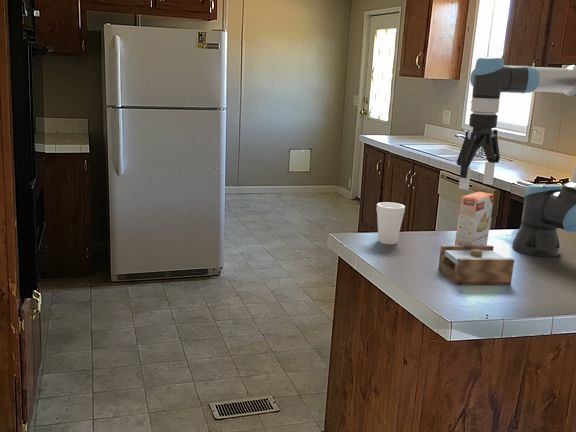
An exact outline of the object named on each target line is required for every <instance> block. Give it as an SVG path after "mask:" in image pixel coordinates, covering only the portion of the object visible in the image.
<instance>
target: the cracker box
mask: <svg viewBox="0 0 576 432" xmlns="http://www.w3.org/2000/svg"><path fill="white" fill-rule="evenodd" d="M494 199H495V194H494V193H488V192H483V191H475V192H471V193H469V194H465V195H463V196H461V197H460V203H459V210H458V218H457V225H456V226H457V227H456V232H455V233H456V234H455V240H454V245H485V246H488V238H489V233H490V226H491V218H492V211H493V206H494Z"/></svg>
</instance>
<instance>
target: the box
mask: <svg viewBox="0 0 576 432" xmlns="http://www.w3.org/2000/svg"><path fill="white" fill-rule="evenodd" d="M471 249H479V250H493V251H494V246H493V245H487V246H485V245H455V244H453V245H452V244H440V252H439V261H438V267H437V269H438V270H439V271H440V272H441V271H442V272H443V273H442V272H441V273H442V274H444V275H445V276H446V277H447V278H448V279H450V280H451V281H452V282H453V283H454V284H455V285H457V286H511V285H512V278H513V271H514V266H515V265H514V264H515V259H514V258H511V257H504V258H458V263H457V265H456V264H455V263H454V262H452V261H451V260H450V259H449V258H447V257H446V256H445V255H444V251H445V250H471Z"/></svg>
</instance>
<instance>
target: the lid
mask: <svg viewBox="0 0 576 432" xmlns="http://www.w3.org/2000/svg"><path fill="white" fill-rule="evenodd" d="M444 255H445V256H446V257H447V258H449V259H450V260H451V261H452V262H454V263H455V264H456V265H457V263H458V258H505V257H504V256H502V255H501V254H499V253H497V252H496V251H495V250H494V249H493V250H479V249H471V250H445V251H444Z"/></svg>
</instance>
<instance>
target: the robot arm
mask: <svg viewBox="0 0 576 432" xmlns="http://www.w3.org/2000/svg"><path fill="white" fill-rule="evenodd" d="M469 81H470V85H471V86H472V94H471V95H472V96H471V97H472V98H471V102H470V103H471V105H470V111H471V112H472V113H471V114H469V123H468V124H469V125H468V126H469V127H470V128H472V131H471V130H466V132H465V135H464V140H463V143H462V145H461V148H460V152H459V153H458V156H457V159H456V165H457V166H458V167H459V166H460V172H459V173H460V174H459V183H458V184H459V185H458V189H459V190H467V191H469V190H470V180H471V172H472V171H471V170H472V166H470V165H471V163H472V161H473V159H474V157H475V156H476V153H477V152H478V150H479V149H481V148H482V150H483V153H484V155H485V158H486V161H484V163H485V164H484V171H483V172H484V173H483V179H482V180H483V181H482V184H485V185H490V186H492V185H493V184H494V176H495V169H496V168H495V167H496V164H499V163H500V159H501V157H500V147H499V141H498V132H499V131H498V129H495V128H497V126H498V125H497V124H498V115H497V113H499V109H500V98H501V93H510V94H513V93H514V94H529V93H535V92H537V93H539V92H540V93H541V92H542V93H563V94H564V95H565V96H568V97H569V96H570V97H576V65H575V64H572V65H571V64H570V65H569V66H568V65H567V67H543V66H542V67H541V66H539V67H537V66H536V67H535V66H528V65H505V60H504V58H502V57H485V56H484V57H478V58H477V60H476V62H475V67H474V69H473V70H472V71H471V74H470V79H469ZM523 200H524V201H523V208H522V216H521V221H520V222H521V223H520V227H519V229H518V231H517V233H516V234H515V237H514V239H513V240H512V245H511V246H512V249H513V250H515V251H517V252H518V253H519V252H520V253H522V254H527V255H529V256H536V257H546V258H547V257H550V258H551V257H556V256H559V255H560V253H561V244H560V240H559V234H558V229H561V230H563V231H566V232H567V233H570V234H576V166H575V167H574V170H573V172H572V175H571V177H570V180H569V181H568V182H566V183H564V184H545V183H544V184H535V183H534V184H529V185H528V186H527V187H526V190H525V194H524V199H523Z"/></svg>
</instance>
